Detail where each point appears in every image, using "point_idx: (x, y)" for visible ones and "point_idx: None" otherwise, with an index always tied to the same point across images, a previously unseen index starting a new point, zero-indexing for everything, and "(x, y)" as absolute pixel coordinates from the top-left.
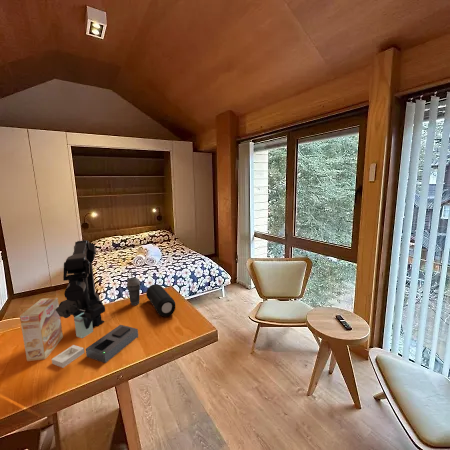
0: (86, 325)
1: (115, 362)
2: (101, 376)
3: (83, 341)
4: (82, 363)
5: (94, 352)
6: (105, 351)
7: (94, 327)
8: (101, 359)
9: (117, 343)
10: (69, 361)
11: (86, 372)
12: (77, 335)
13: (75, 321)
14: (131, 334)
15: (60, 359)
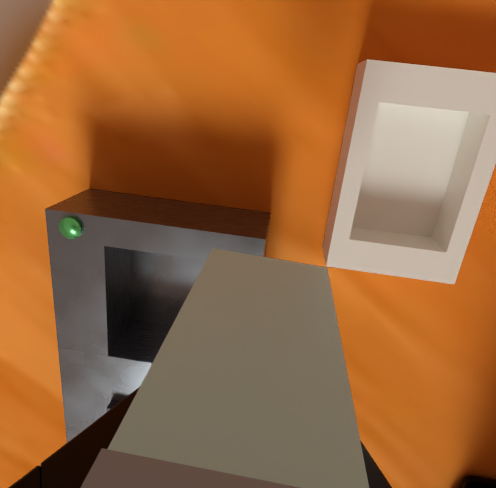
0: (104, 414)
1: (43, 217)
2: (15, 79)
3: (439, 355)
4: (254, 156)
5: (162, 222)
6: (73, 244)
7: (463, 484)
8: (111, 200)
9: (68, 339)
10: (348, 125)
11: (147, 84)
12: (301, 272)
13: (319, 480)
14: (69, 435)
15: (425, 95)
